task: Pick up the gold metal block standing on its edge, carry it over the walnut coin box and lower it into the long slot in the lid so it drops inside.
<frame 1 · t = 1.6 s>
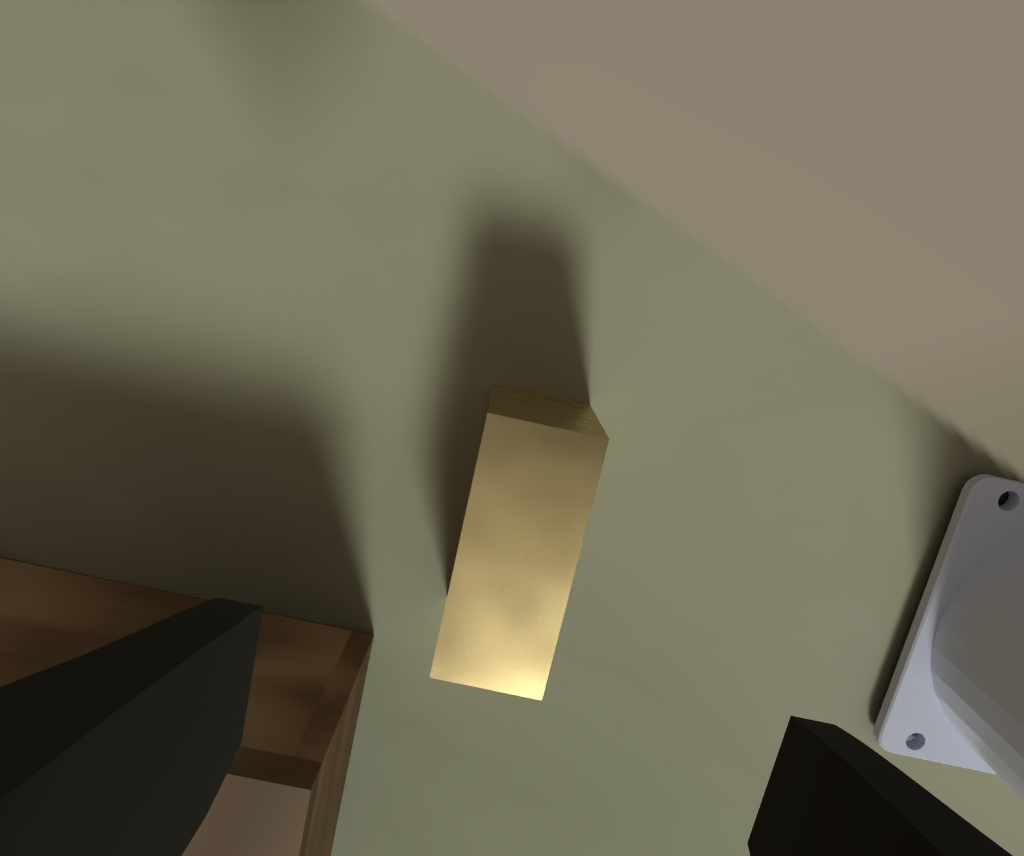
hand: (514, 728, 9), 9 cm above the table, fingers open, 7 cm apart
coin box: (136, 749, 20), on the table
gold metal block: (516, 503, 19), on the table
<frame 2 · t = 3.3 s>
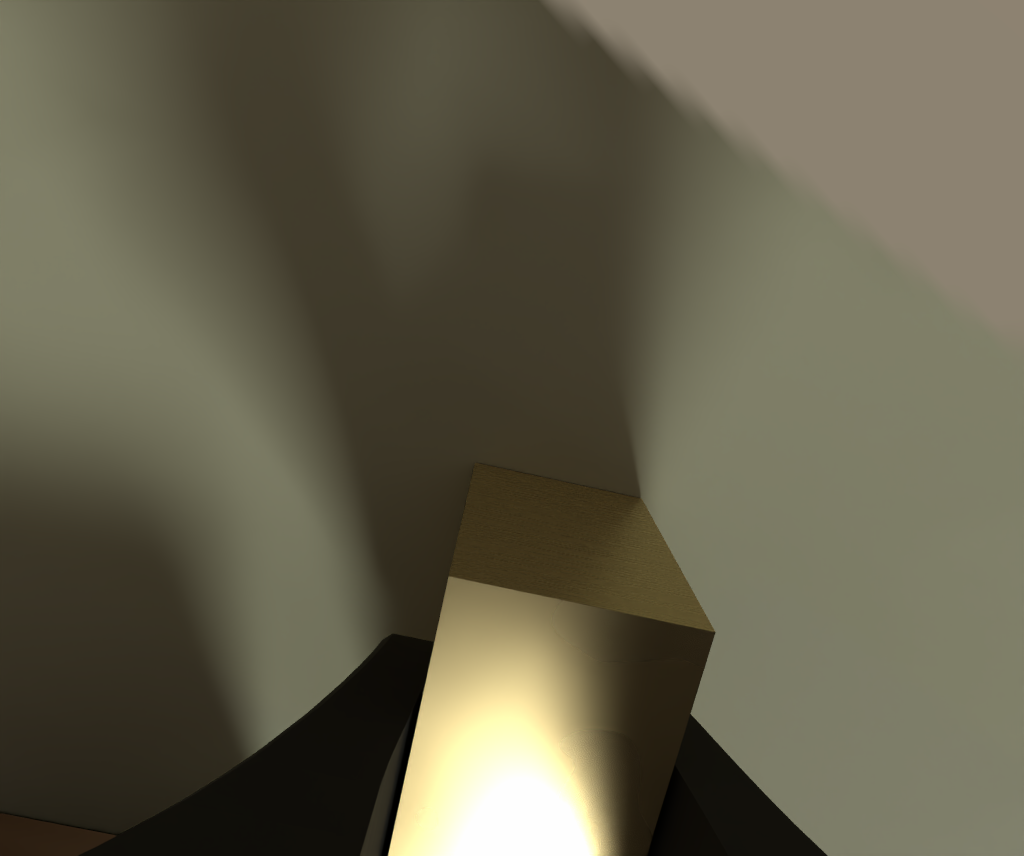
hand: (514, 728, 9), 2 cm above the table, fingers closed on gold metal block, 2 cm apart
gold metal block: (514, 662, 11), on the table, touching gripper
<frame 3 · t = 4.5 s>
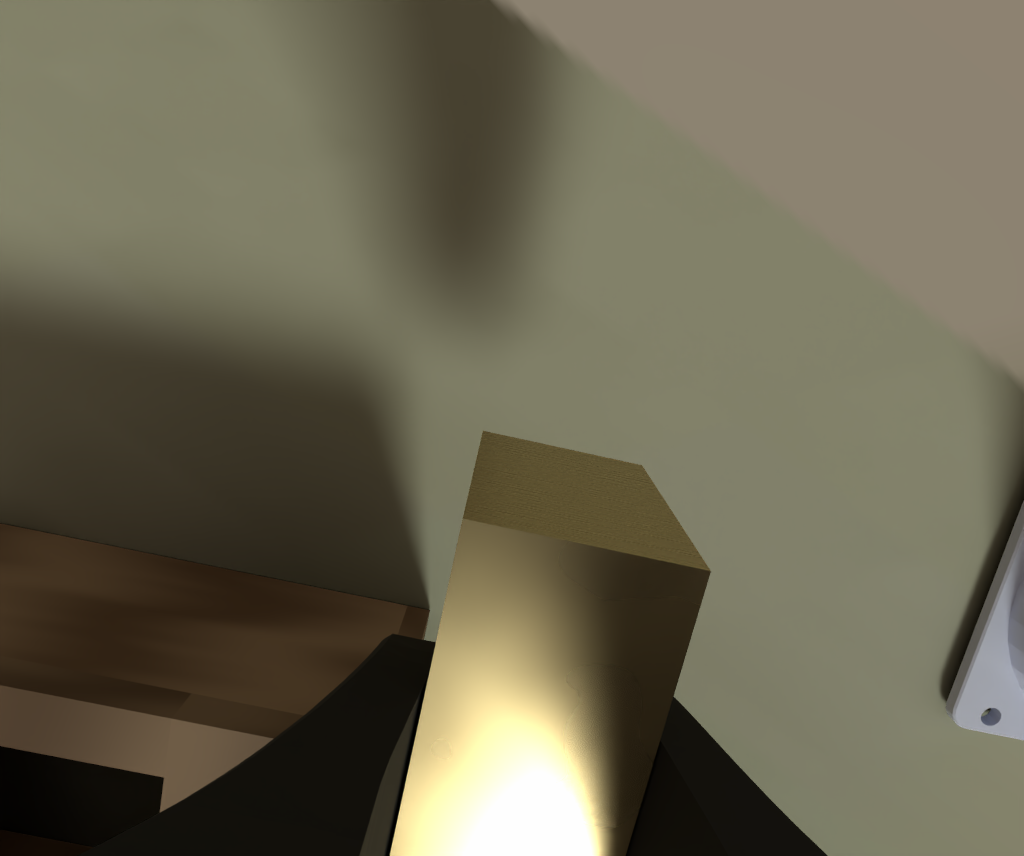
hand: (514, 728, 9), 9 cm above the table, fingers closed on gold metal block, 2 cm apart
coin box: (184, 729, 20), on the table
gold metal block: (520, 623, 11), point 7 cm above the table, touching gripper
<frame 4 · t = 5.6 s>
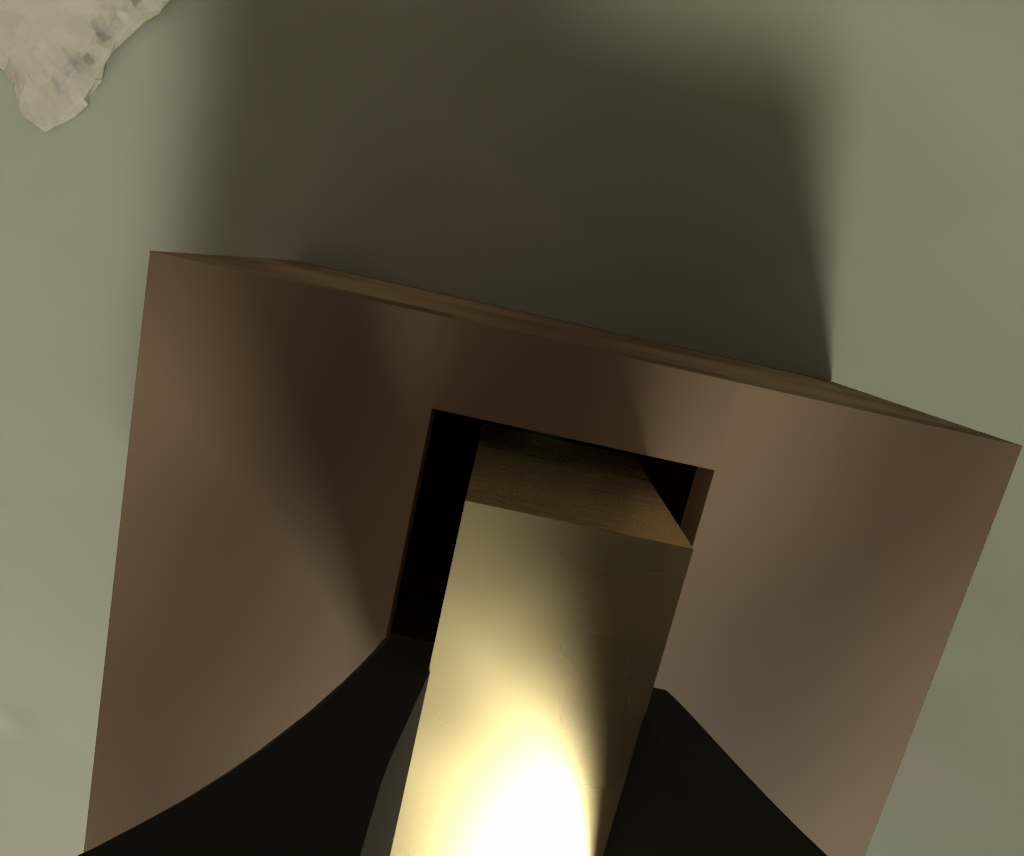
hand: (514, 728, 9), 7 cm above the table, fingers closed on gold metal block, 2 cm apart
coin box: (516, 535, 16), on the table
gold metal block: (518, 607, 12), point 4 cm above the table, touching gripper
when the fingers open (7 cm above the table, at t = 6.2 s): gold metal block drops 4 cm, resting in coin box.
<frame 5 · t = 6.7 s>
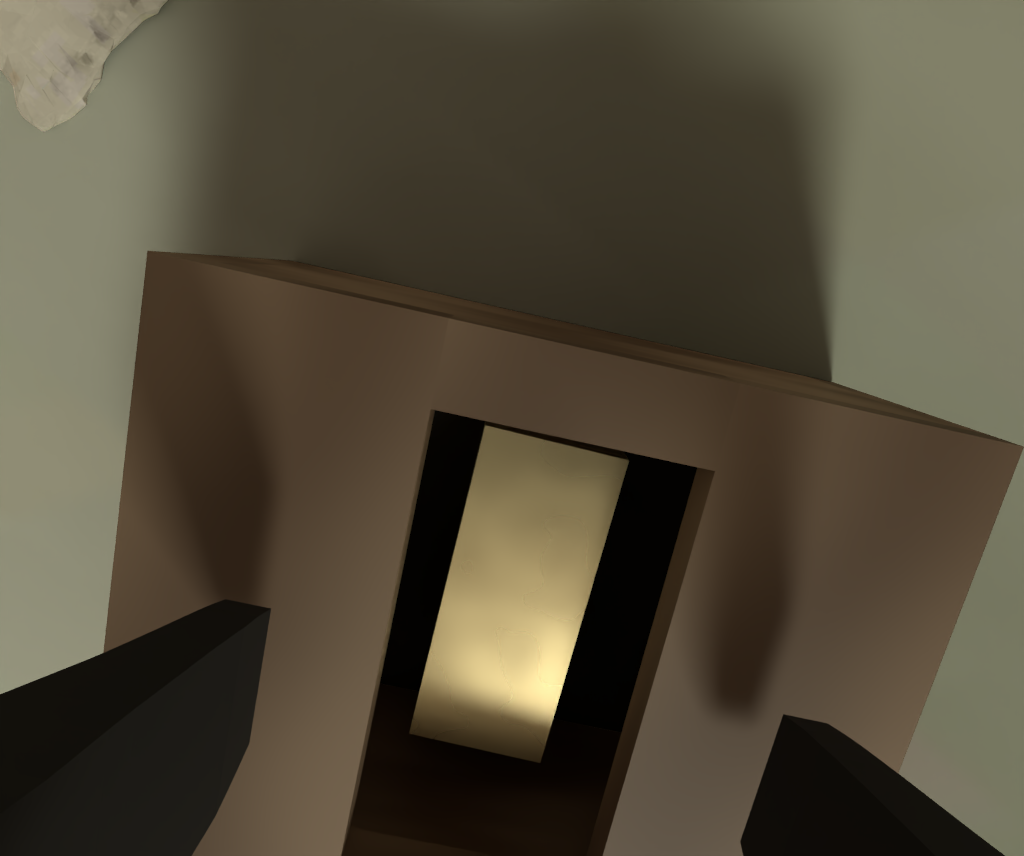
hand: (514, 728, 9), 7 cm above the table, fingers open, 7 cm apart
coin box: (515, 536, 16), on the table
gold metal block: (514, 525, 16), resting in coin box
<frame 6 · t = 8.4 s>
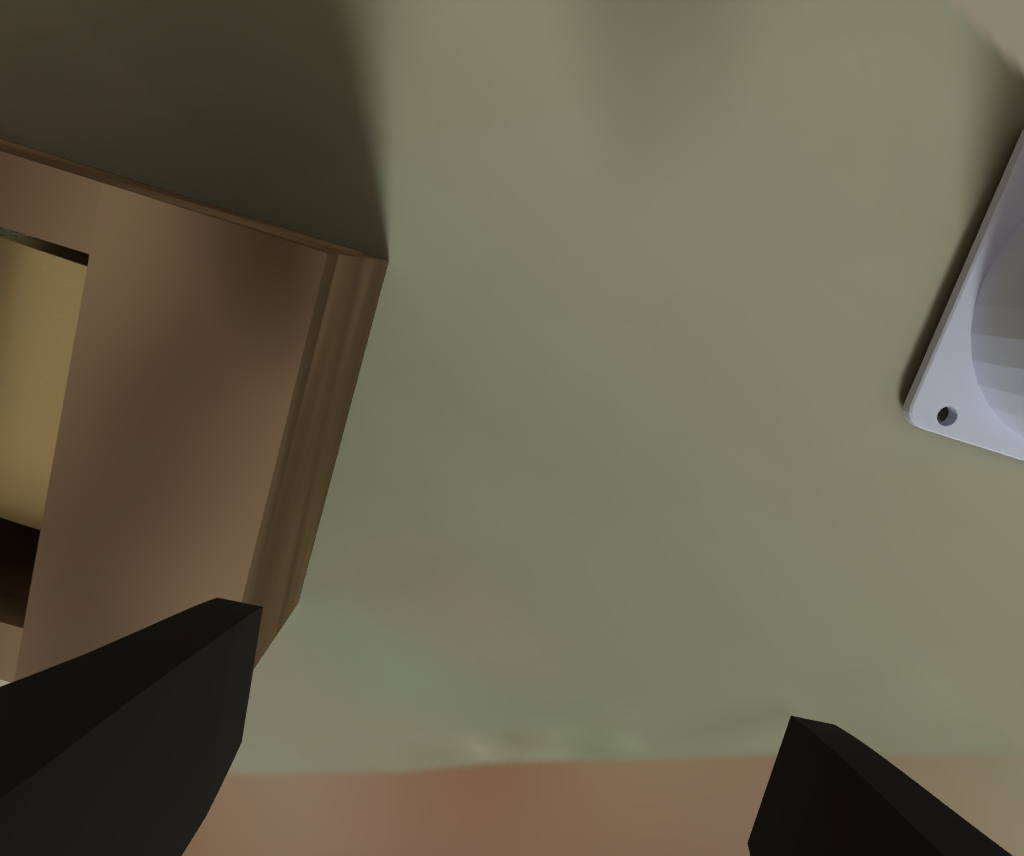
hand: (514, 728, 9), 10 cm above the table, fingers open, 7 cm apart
coin box: (123, 376, 19), on the table
gold metal block: (125, 367, 19), resting in coin box
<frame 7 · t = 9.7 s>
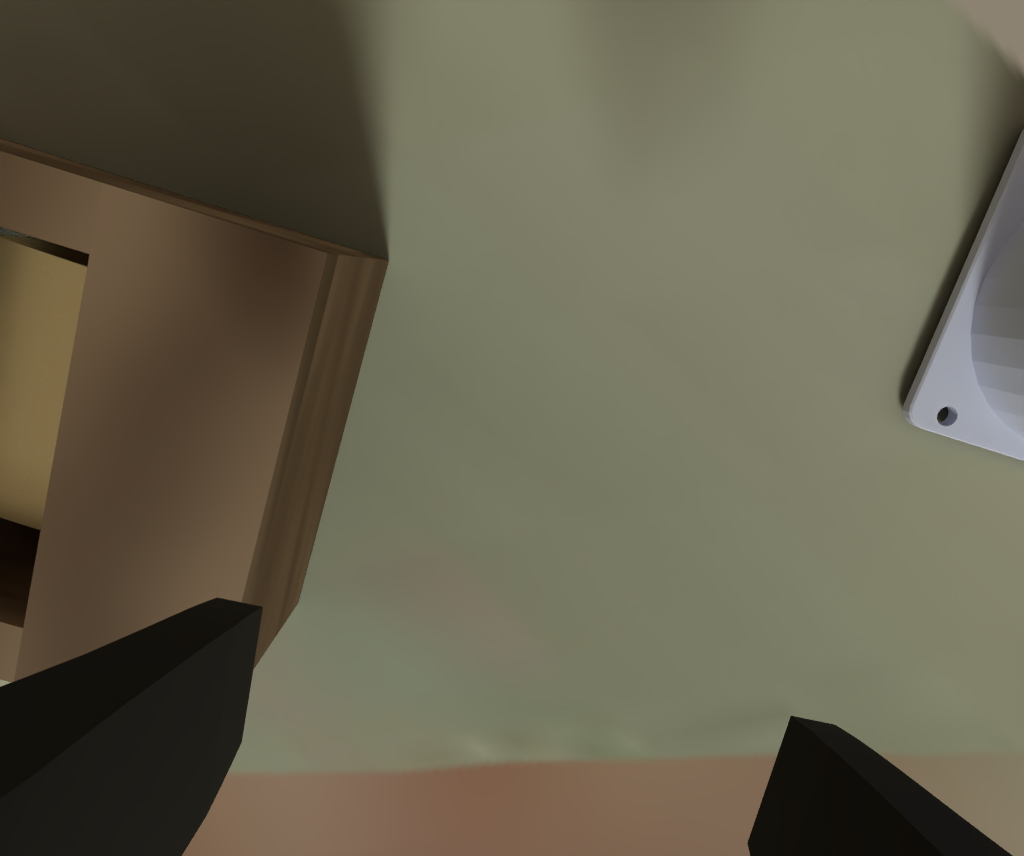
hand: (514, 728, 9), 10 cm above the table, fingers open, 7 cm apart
coin box: (123, 376, 19), on the table
gold metal block: (125, 367, 19), resting in coin box
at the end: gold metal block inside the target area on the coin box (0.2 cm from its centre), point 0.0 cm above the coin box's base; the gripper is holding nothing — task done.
